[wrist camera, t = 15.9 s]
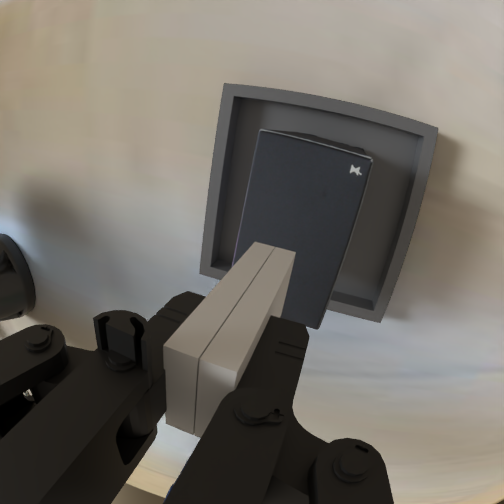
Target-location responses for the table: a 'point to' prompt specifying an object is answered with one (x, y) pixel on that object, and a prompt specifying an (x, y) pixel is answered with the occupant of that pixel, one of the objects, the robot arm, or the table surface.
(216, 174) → the holder tray
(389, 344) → the table surface
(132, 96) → the table surface
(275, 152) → the small box
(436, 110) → the table surface
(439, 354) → the table surface
